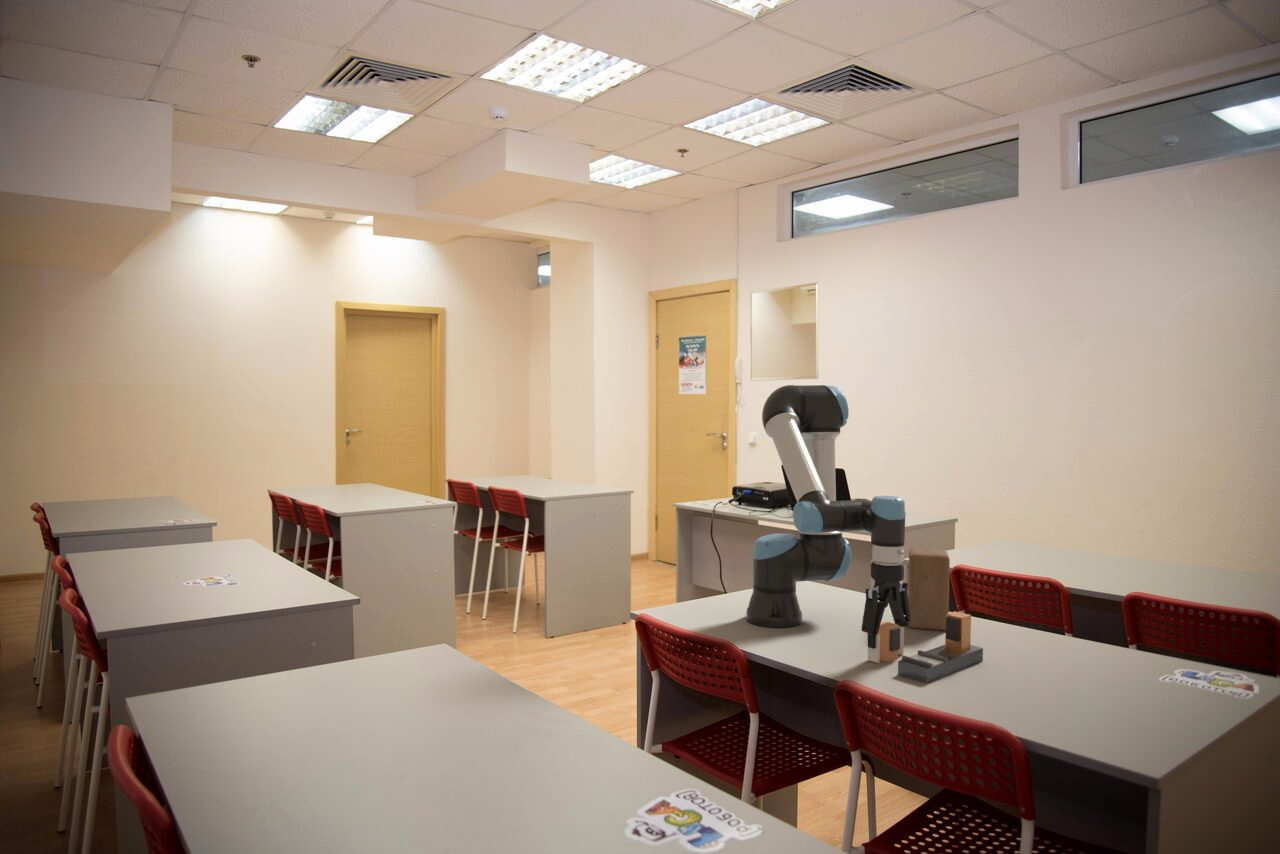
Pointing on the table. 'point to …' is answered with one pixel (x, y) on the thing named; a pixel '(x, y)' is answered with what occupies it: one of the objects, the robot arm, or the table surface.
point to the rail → (944, 653)
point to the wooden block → (928, 588)
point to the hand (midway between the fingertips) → (886, 657)
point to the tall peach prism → (889, 641)
